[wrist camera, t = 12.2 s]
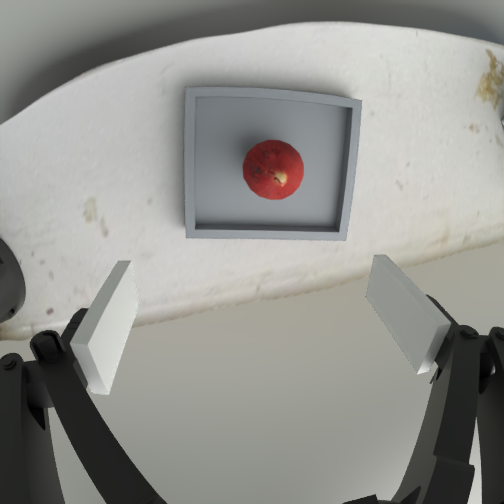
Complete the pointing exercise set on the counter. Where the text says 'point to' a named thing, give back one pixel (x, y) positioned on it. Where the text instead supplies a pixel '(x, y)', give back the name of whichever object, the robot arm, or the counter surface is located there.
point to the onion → (273, 169)
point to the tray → (258, 130)
